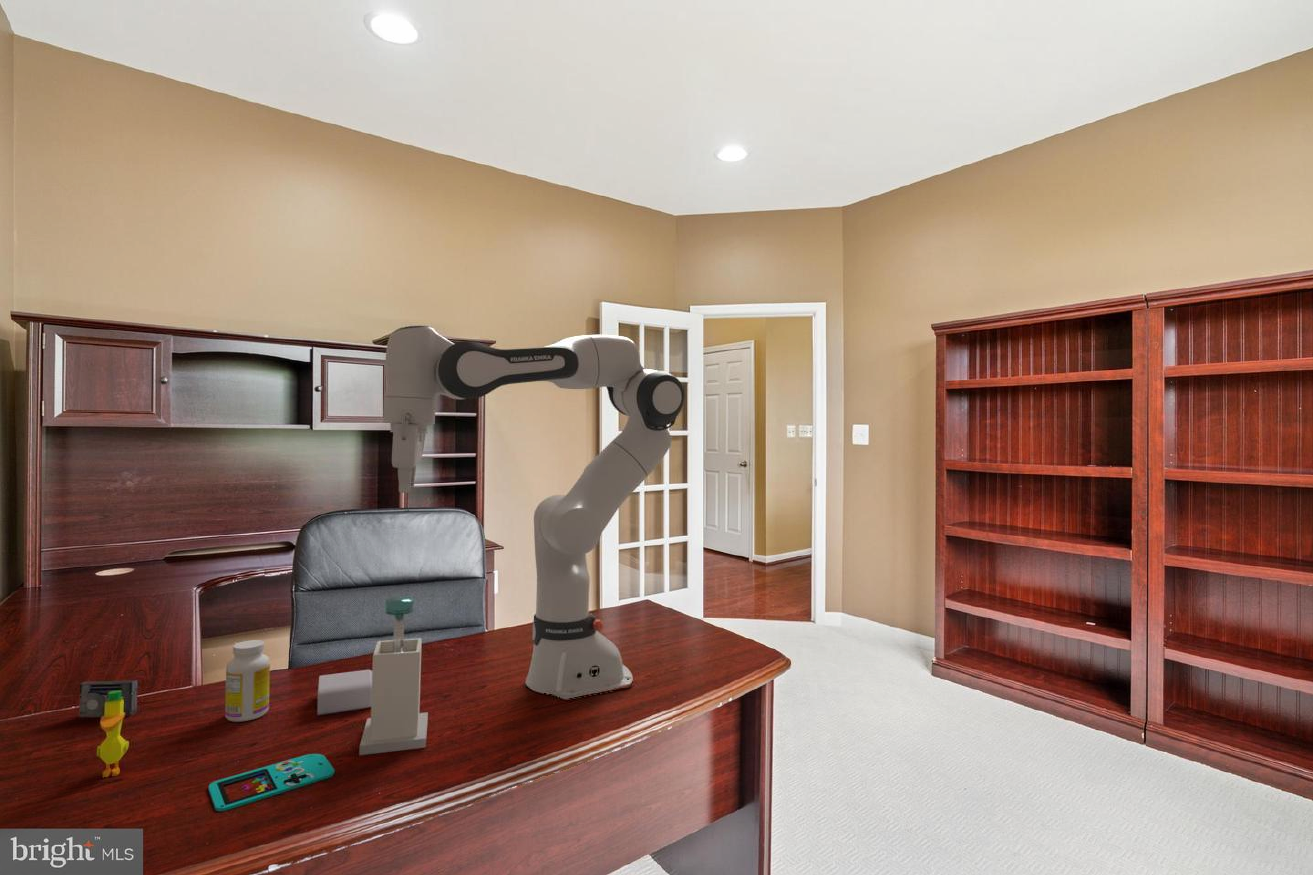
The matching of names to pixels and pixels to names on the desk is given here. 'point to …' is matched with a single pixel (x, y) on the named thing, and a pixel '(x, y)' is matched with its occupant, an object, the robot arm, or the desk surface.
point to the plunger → (399, 618)
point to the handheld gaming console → (274, 779)
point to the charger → (344, 692)
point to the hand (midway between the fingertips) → (406, 489)
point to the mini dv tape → (106, 697)
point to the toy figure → (112, 733)
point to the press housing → (395, 700)
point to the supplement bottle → (247, 682)
